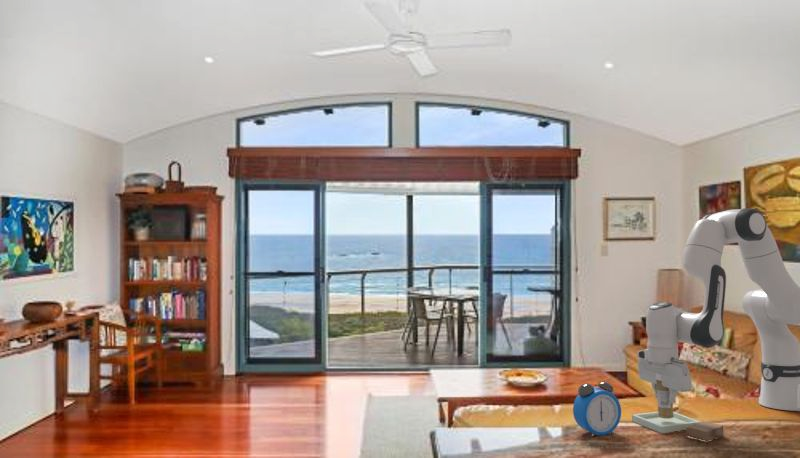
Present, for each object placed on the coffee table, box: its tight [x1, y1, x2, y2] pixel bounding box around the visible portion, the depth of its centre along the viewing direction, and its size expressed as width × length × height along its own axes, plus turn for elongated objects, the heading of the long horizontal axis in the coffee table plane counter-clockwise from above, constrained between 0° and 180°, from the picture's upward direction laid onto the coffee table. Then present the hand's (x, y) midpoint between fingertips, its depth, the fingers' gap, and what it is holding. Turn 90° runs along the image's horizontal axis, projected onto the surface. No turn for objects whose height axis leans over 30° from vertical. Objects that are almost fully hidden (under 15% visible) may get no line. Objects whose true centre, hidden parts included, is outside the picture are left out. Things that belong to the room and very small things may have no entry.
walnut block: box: [685, 420, 724, 441], centre depth 175 cm, size 9×6×3 cm, turn 125°
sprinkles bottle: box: [656, 374, 674, 419], centre depth 188 cm, size 5×5×13 cm
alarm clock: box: [572, 381, 622, 436], centre depth 182 cm, size 13×6×15 cm, turn 107°
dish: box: [631, 411, 701, 434], centre depth 188 cm, size 14×14×2 cm
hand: (665, 400), depth 188 cm, fingers closed on sprinkles bottle, 4 cm apart
